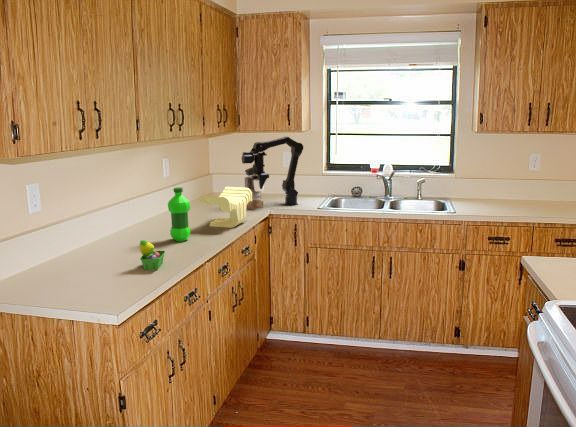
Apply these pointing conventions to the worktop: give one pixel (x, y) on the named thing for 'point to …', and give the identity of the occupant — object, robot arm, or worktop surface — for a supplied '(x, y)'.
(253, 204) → the copper brown block
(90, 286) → the worktop surface
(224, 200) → the slatted curved stool
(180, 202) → the plastic bottle
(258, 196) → the coffee box
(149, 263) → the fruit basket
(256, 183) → the faceted beige tumbler
